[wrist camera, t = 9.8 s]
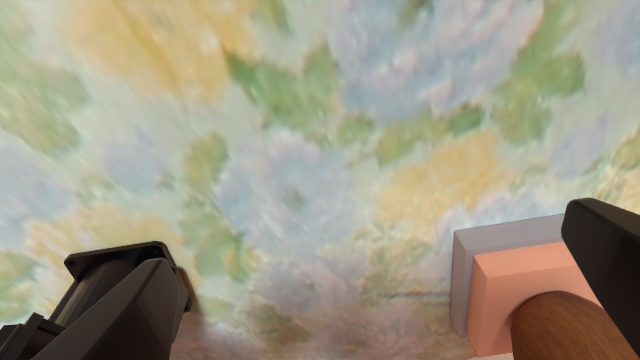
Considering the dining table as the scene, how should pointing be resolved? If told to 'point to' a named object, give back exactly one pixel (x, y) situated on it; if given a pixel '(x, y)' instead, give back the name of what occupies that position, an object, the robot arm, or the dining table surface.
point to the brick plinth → (491, 243)
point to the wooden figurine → (566, 330)
